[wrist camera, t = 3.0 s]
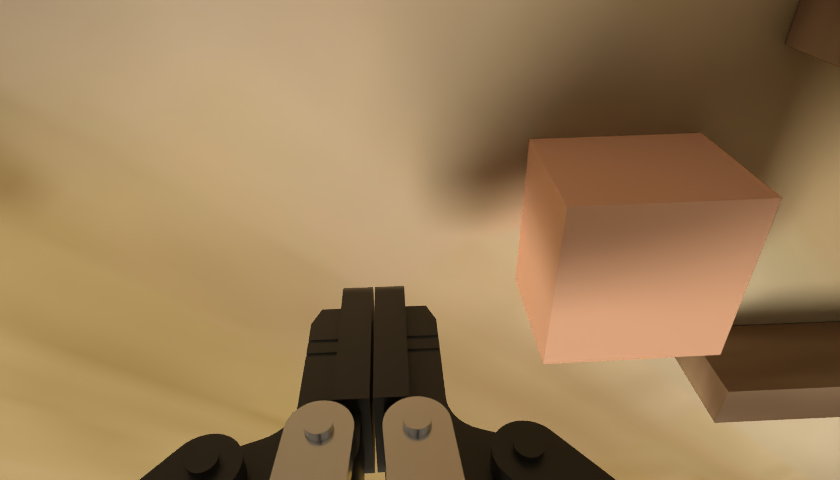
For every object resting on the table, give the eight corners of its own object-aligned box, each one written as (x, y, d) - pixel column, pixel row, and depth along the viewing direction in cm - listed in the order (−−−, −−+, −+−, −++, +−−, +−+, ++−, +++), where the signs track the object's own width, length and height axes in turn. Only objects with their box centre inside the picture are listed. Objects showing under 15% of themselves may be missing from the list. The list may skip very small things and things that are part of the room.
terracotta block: (528, 137, 16) (566, 206, 12) (698, 131, 16) (782, 197, 13) (514, 276, 19) (543, 364, 15) (660, 269, 19) (720, 354, 15)
